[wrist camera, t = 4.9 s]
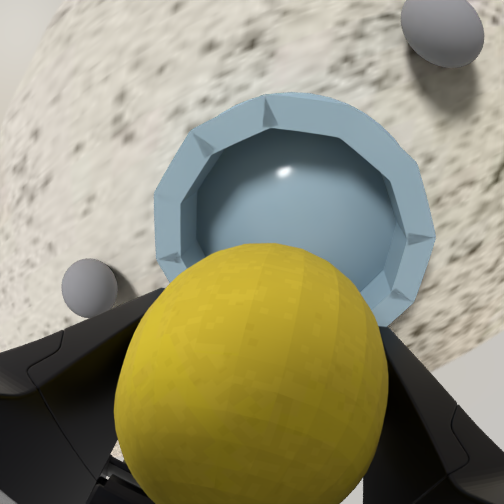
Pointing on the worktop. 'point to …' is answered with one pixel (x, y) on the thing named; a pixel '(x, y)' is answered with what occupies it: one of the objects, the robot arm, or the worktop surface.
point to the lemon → (253, 383)
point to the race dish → (300, 195)
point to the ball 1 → (89, 288)
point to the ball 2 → (443, 31)
